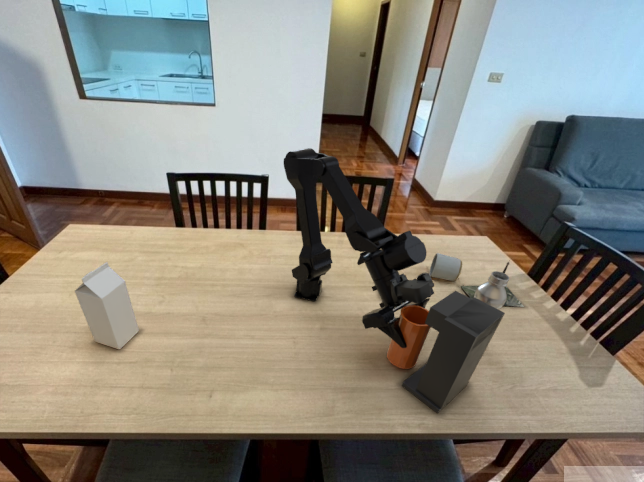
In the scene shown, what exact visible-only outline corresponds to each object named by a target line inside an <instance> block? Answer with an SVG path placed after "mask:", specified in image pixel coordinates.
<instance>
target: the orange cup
mask: <svg viewBox="0 0 644 482" xmlns="http://www.w3.org/2000/svg"><path fill="white" fill-rule="evenodd" d="M428 313H429V309H427V308H426V307H425V308H423V307H420V306H416V305H407V306H404V307H403V308H401V309H400V311H399V313H398V317H400V322H399V327H400V329H401V332H402V334H403V337H404V339H405V342H406V345H407V347H406V348H402V347H400V346H399V345H398V344H397V343H396V342H395V341H393V340H392V339H391V338H390V341H389V345H388V348H387V352H386V357H387V360H388V362H389V363H391V364H392V365H393V366H394V367H396V368H400V369H404V370H409V369H413V368H414V367H415V366H416V365H417V363H418V362H419V359H420V357H421V355H422V352H423V349H424V347H425V345H426V343H427V340H428V337H429V336H430V332H431V330H432V327H430V326H428V325H427V324H425V321H426V318H427V315H428Z"/></svg>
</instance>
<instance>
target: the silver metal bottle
mask: <svg viewBox="0 0 644 482" xmlns="http://www.w3.org/2000/svg"><path fill="white" fill-rule="evenodd" d="M502 272H503V271H498V270H497V271H495V270H494V271H492V272H491V273H490V275H489V277H488V278H487V281H485V282H483V283H482V284H480V285H478V286H479V287H478V288H477V289H476V292H475V295H474V297H475V298H477V299H479V300H481V301H483V302H485V303H487V304H489V305H490V306H492V307H494V308H496V309H498V310H500V311H501V309H502V308H503V305H504V303H505V302H506V298H507V295H506V290H505V288H504V287H506V286H507V287H508V283H509V281H510V276H509V275H508V274H506V272H505V273H502Z"/></svg>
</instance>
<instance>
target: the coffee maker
mask: <svg viewBox="0 0 644 482" xmlns="http://www.w3.org/2000/svg"><path fill="white" fill-rule="evenodd" d="M428 311H429V313H428V315H427V318H426V321H425V324H427V325H428V326H430V327H431V329H433V330H435V331H436V332H438V334H437V336H436V339H435V341H434V344H433V347H432V349H431V351H430V354H429V356H428V359H427V361H426V363H425V364H424V365H423V366H421V367H420V368H419V369H418V370H416V371H415V372H414V373H412V374H411V375H410V376H409V377H407V378H406V379H405V380H404V381H402V384H401V387H403V388H404V389H405V390H406V391H407V392H408V393H410V394H411V395H413V396H414V397H416V398H417V399H418V400H419V401H421V402H422V403H423V404H425V405H426V406H427V407H429V408H430V409H431V410H432V411H434V412H435V413H436V414H439V413H440V412H441V411H442V410H443V409H444V408H446V406H448V404H449V403H451V402H452V400H454V399H455V398H456V397H457V396H458V395H459V394H460V393H461V392H462V391H463V390H464V389H465V388H466V387H467V386H468V384H469V382H470V380H471V378H472V377H473V374H474V372H475V371H476V369H477V367H478V365H479V363H480V361H481V360H482V357H483V355H484V354H485V352H486V350H487V348H488V346H489V344H490V343H491V340H492V339H493V337H494V335H495V333H496V331H497V329H498V327H499V325H500V324H501V322H502V320H503V318H504V317H505V314H506V312H504V311H502V310H501V309H500V310H498V309H496V308H494V307H492V306H490V305H489V304H487V303H485V302H483V301H481V300H479V299H477V298H475V297H474V298H473V299H471V298H470V297H469V296H467V295H465V294H463V293H461V292H459V291H458V290H454V291H452V292H450V294H449V295H446V296H445V297H444V298H441V300H439V301H438V302H436V303H435V304H433V305H432V306H430V308H429V309H428Z"/></svg>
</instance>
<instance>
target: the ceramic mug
mask: <svg viewBox="0 0 644 482" xmlns="http://www.w3.org/2000/svg"><path fill="white" fill-rule="evenodd" d="M462 268H463V260H462V259H460V258H457V257H455V256H450V255H446V254H444V253H439V252H437V253H435V254H434V256H433V258H432V260H431V264H430V267H429V272H428V274H429V275H430V277H431V278H436V279H441V280H445V281H451V282H452V281H456V280H458V279H459V277H460V275H461V272H462V270H463V269H462Z"/></svg>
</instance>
